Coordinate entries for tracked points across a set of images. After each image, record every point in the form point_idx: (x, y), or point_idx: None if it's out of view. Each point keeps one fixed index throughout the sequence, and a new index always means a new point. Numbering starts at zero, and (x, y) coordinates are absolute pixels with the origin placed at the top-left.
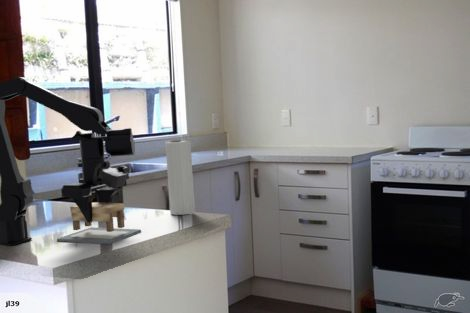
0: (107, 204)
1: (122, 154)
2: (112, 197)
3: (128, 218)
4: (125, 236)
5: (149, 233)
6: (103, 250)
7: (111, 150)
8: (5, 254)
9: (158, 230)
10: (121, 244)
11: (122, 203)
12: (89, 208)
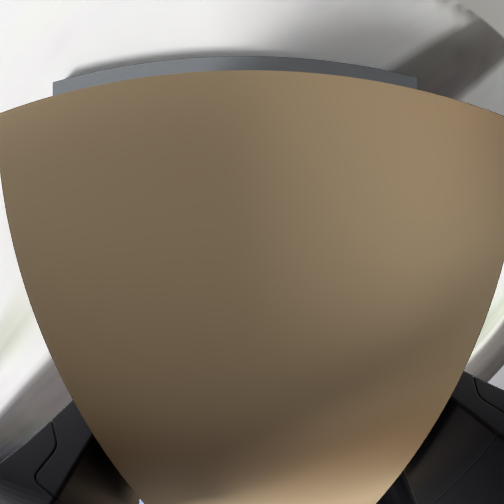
0: (229, 394)
1: None
2: (3, 472)
3: None
4: (244, 57)
5: (89, 2)
6: (487, 59)
7: None
8: (490, 378)
9: (17, 20)
10: (391, 8)
11: (29, 112)
12: (483, 386)
